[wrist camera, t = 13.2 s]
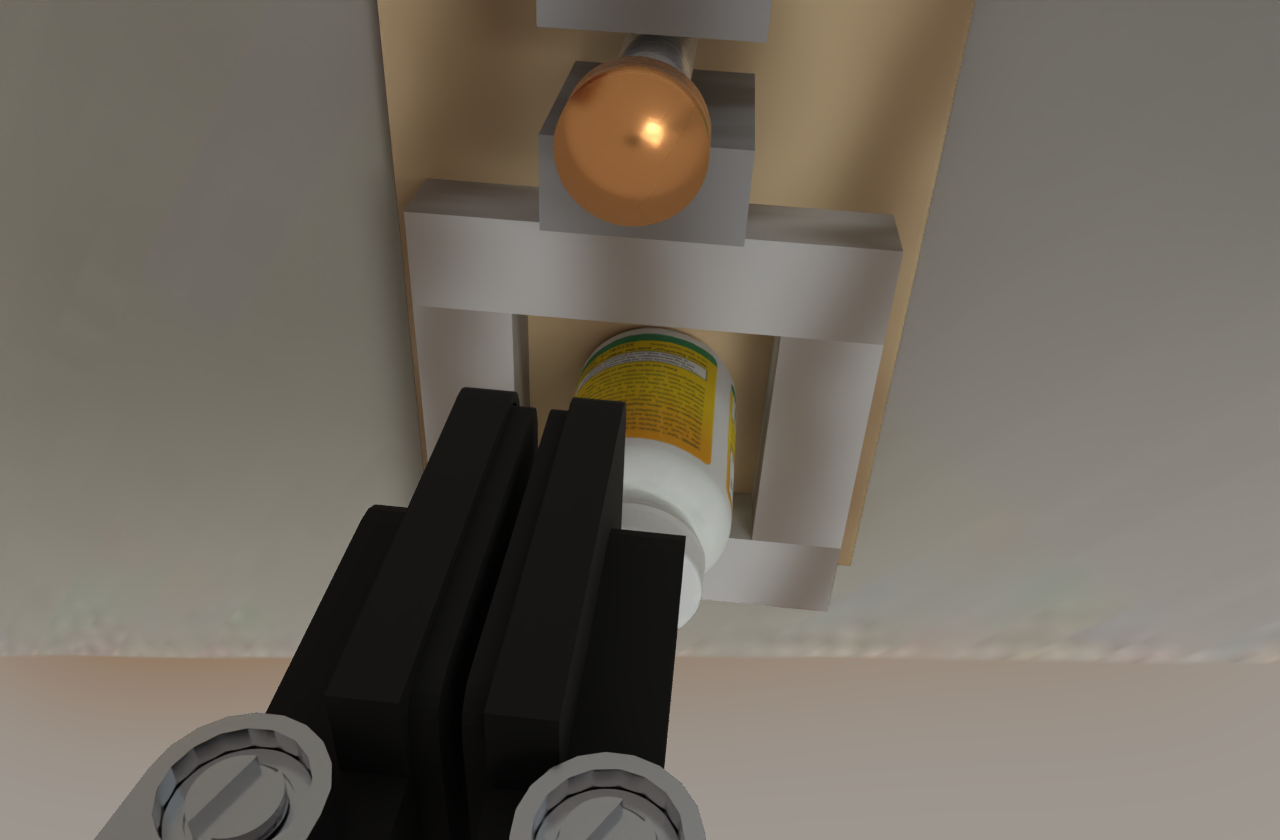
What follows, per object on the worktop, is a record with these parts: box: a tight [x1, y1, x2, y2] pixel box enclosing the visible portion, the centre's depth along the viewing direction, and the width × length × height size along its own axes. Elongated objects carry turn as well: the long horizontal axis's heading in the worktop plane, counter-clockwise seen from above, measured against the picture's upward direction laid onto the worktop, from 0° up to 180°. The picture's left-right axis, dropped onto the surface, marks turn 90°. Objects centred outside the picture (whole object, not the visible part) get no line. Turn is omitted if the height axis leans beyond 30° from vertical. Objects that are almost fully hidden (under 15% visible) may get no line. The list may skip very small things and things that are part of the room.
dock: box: [377, 0, 975, 612], centre depth 30 cm, size 16×23×7 cm
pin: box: [553, 33, 712, 226], centre depth 23 cm, size 3×3×9 cm
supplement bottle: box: [574, 327, 736, 629], centre depth 31 cm, size 5×5×10 cm
